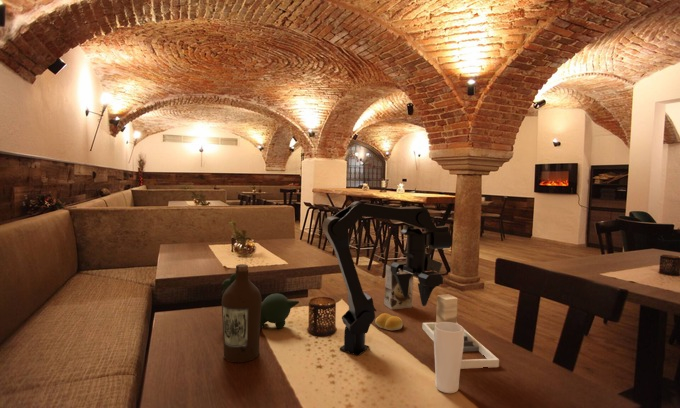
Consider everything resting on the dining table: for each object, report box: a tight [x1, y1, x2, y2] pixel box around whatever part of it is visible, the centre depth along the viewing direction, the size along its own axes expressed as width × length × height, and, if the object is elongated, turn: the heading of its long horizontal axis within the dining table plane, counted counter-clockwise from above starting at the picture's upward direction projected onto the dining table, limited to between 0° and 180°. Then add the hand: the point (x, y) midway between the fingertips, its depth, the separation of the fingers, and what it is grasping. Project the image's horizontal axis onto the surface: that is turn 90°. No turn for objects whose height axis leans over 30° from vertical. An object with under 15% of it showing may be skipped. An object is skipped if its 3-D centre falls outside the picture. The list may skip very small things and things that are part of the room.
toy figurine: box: [220, 272, 300, 330], centre depth 130 cm, size 9×19×25 cm
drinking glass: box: [433, 322, 465, 394], centre depth 94 cm, size 7×7×15 cm
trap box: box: [422, 321, 500, 370], centre depth 118 cm, size 28×12×2 cm, turn 7°
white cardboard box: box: [383, 263, 414, 310], centre depth 153 cm, size 9×6×16 cm
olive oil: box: [221, 263, 263, 363], centre depth 108 cm, size 11×11×25 cm
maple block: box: [435, 293, 459, 324], centre depth 126 cm, size 4×4×12 cm
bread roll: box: [374, 312, 404, 331], centre depth 133 cm, size 8×9×4 cm
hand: (414, 301), depth 118 cm, fingers open, 9 cm apart
